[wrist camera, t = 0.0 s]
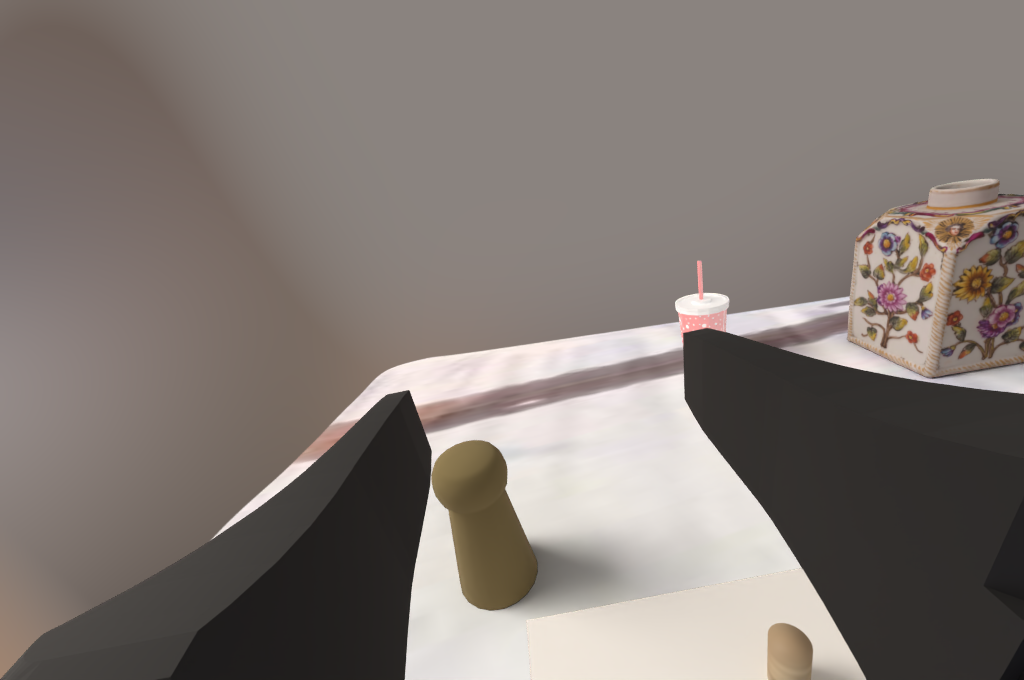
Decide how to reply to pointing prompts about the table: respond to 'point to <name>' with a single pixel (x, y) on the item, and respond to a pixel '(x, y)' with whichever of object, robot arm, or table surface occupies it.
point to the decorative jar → (943, 281)
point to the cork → (484, 525)
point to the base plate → (690, 634)
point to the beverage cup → (702, 309)
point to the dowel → (788, 653)
